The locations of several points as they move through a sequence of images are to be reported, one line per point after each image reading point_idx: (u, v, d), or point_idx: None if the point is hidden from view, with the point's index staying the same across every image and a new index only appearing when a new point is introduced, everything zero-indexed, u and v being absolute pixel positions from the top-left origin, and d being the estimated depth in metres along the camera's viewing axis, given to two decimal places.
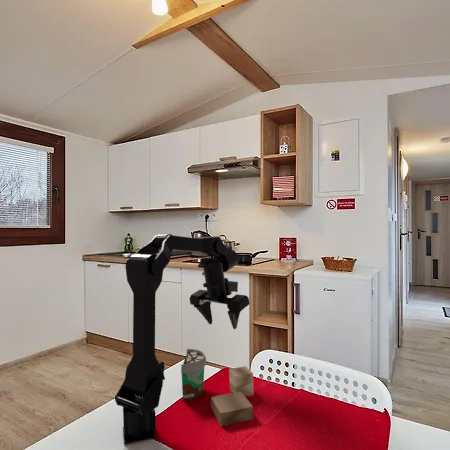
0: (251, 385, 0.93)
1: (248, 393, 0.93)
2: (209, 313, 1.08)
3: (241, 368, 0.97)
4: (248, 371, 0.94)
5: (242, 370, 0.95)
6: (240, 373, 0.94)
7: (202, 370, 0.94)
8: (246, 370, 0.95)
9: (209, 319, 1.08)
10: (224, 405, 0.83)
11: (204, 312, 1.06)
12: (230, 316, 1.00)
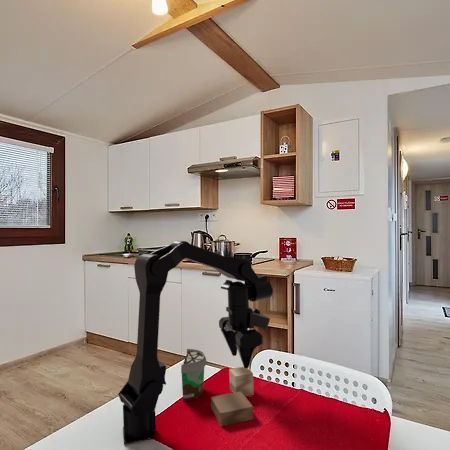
0: (251, 385, 0.93)
1: (248, 393, 0.93)
2: (234, 343, 0.99)
3: (241, 368, 0.97)
4: (248, 371, 0.94)
5: (242, 370, 0.95)
6: (240, 373, 0.94)
7: (202, 370, 0.94)
8: (246, 370, 0.95)
9: (232, 349, 0.99)
10: (224, 405, 0.83)
11: (228, 339, 0.99)
12: (238, 350, 0.89)
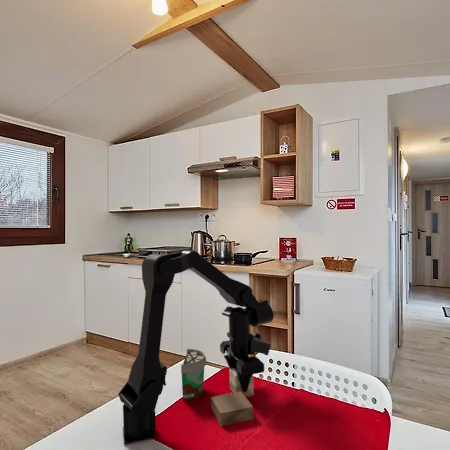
0: (251, 385, 0.93)
1: (248, 393, 0.93)
2: None
3: None
4: None
5: None
6: None
7: (202, 370, 0.94)
8: None
9: None
10: (224, 405, 0.83)
11: (231, 367, 0.97)
12: (236, 374, 0.91)
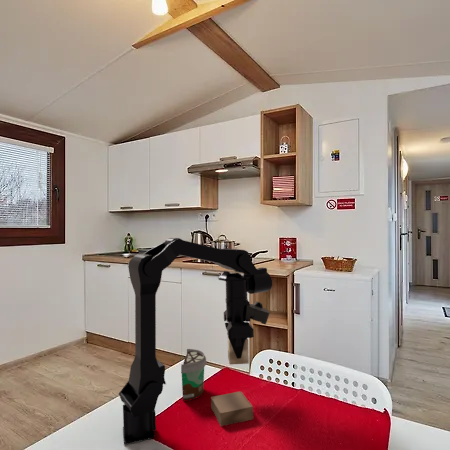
0: (246, 352, 0.91)
1: (243, 360, 0.90)
2: None
3: None
4: None
5: None
6: None
7: (202, 370, 0.94)
8: None
9: None
10: (224, 405, 0.83)
11: None
12: None
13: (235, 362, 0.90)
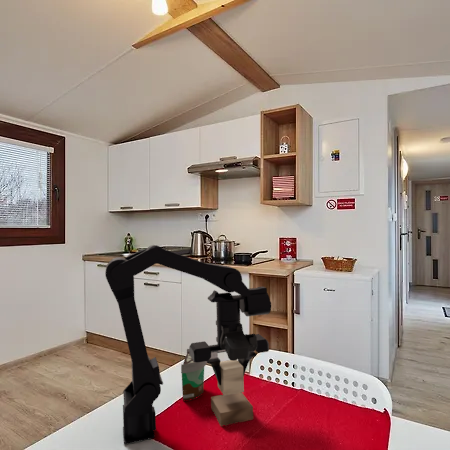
0: (222, 382, 0.82)
1: (222, 389, 0.83)
2: None
3: (237, 364, 0.84)
4: (228, 367, 0.82)
5: (231, 365, 0.84)
6: (224, 364, 0.84)
7: (202, 370, 0.94)
8: (231, 366, 0.83)
9: None
10: (224, 405, 0.83)
11: (238, 359, 0.87)
12: None
13: (219, 387, 0.84)
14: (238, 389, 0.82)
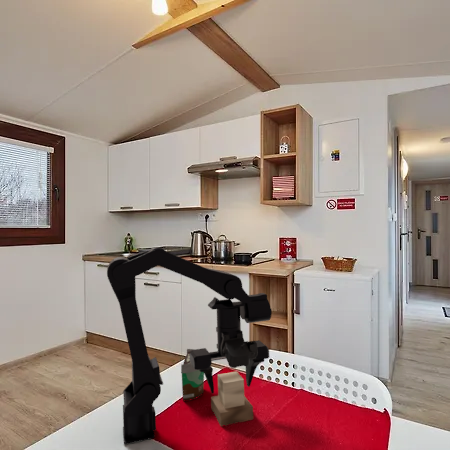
0: (223, 395, 0.82)
1: (222, 402, 0.83)
2: (248, 371, 0.86)
3: (237, 377, 0.84)
4: (229, 380, 0.82)
5: (231, 378, 0.84)
6: (225, 376, 0.85)
7: None
8: (231, 379, 0.83)
9: (246, 378, 0.86)
10: None
11: None
12: None
13: (220, 399, 0.84)
14: (239, 402, 0.82)
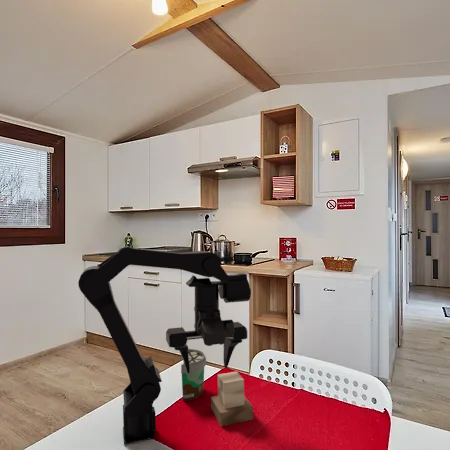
0: (223, 395, 0.82)
1: (222, 402, 0.83)
2: (225, 353, 0.84)
3: (237, 377, 0.84)
4: (229, 380, 0.82)
5: (231, 378, 0.84)
6: (225, 376, 0.85)
7: (202, 370, 0.94)
8: (231, 379, 0.83)
9: (224, 359, 0.84)
10: None
11: (224, 345, 0.86)
12: None
13: (220, 399, 0.84)
14: (239, 402, 0.82)
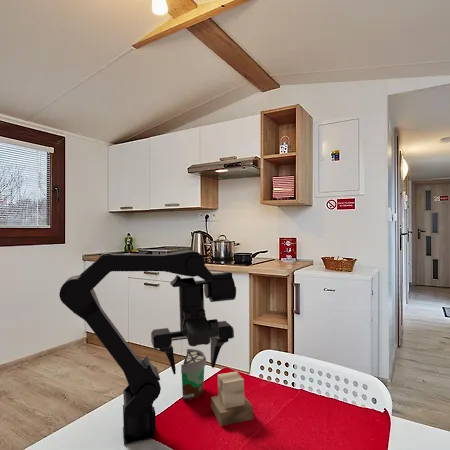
0: (223, 395, 0.82)
1: (222, 402, 0.83)
2: (212, 352, 0.83)
3: (237, 377, 0.84)
4: (229, 380, 0.82)
5: (231, 378, 0.84)
6: (225, 376, 0.85)
7: (202, 370, 0.94)
8: (231, 379, 0.83)
9: (211, 359, 0.83)
10: None
11: (211, 345, 0.85)
12: None
13: (220, 399, 0.84)
14: (239, 402, 0.82)
